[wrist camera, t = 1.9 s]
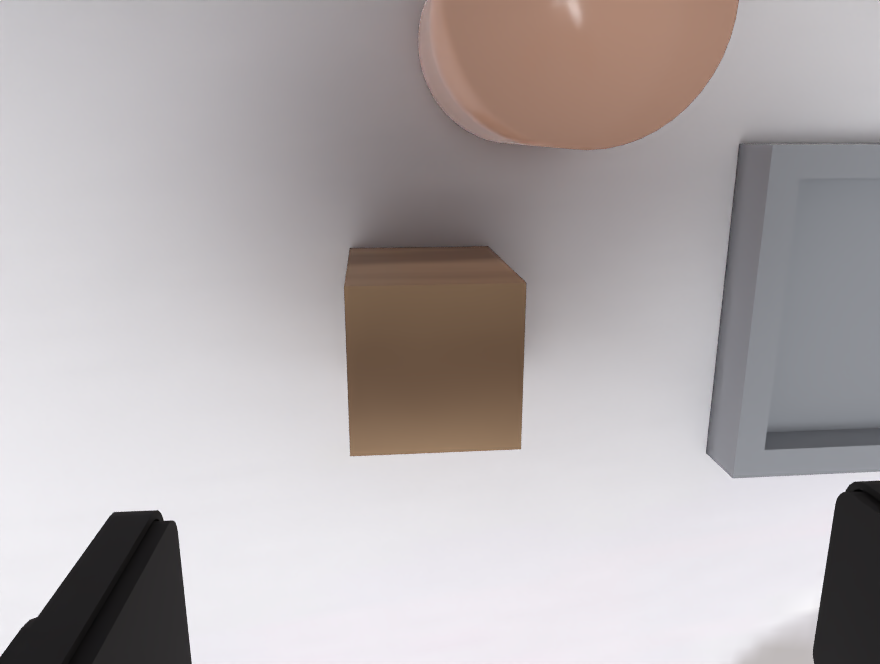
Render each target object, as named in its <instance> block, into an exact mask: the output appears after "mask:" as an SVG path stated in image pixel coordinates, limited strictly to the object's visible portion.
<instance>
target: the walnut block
mask: <svg viewBox="0 0 880 664" xmlns="http://www.w3.org/2000/svg"><path fill="white" fill-rule="evenodd" d="M344 298H345V326H346V353H347V381H348V408H349V436H350V456H367V455H391V454H416V453H440V452H464V451H488V450H512V449H521V429H522V399H523V368H524V338H525V308H526V282H525V281H524V280H523V279H522V278H521V277H520V276H519V275H518V274H517V273H515V272H514V271H513V270H512V269H511V268H510V267H509V266H508V265H507V264H506V263H505V262H504V261H503V260H502V259H501V258H500V257H499V256H498V255H497V254H495V253H494V252H493V251H492V250H491V249H490V248H489V247H488V246H472V247H404V248H350V251H349V258H348V264H347V271H346V277H345V284H344Z"/></svg>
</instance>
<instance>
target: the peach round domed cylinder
mask: <svg viewBox="0 0 880 664" xmlns="http://www.w3.org/2000/svg"><path fill="white" fill-rule="evenodd" d="M738 2H739V0H425V3H424V6H423V10H422V13H421V18H420V23H419V32H418V49H419V58H420V64H421V69H422V72H423V75H424V78H425V81H426V83H427V86H428V88H429V90H430V92H431V94H432V96H433V97H434V99H435V100H436V102H437V104H438V105H439V106H440V107H441V109H442V110H443V111H444V112H445V114H446V115H447V116H448V117H449V118H451V119H452V120H453V121H454V122H455V123H456V124H457V125H459V126H460V127H462V128H463V129H464V130H466V131H468V132H470V133H471V134H473V135H475V136H477V137H480V138H483V139H486V140H488V141H493V142H498V143H505V144H517V145H529V146H541V147H553V148H565V149H580V150H594V149H606V148H611V147H616V146H620V145H624V144H627V143H630V142H633V141H636V140H638V139H641V138H643V137H645V136H647V135H649V134H651V133H653V132H655V131H657V130H658V129H660V128H661V127H663V126H664V125H666V124H667V123H669V122H670V121H672V120H673V119H674V118H675V117H677V116H678V115H679V114H680V113H681V112H682V111H683V110H685V109H686V108H687V107H688V106H689V105H690V104H691V103H692V101H693V100H694V99H695V98H696V97H697V96H698V95H699V94H700V93H701V91H702V90H703V88H704V87H705V86H706V84H707V83H708V81H709V80H710V79H711V77H712V76H713V74H714V72H715V70H716V68H717V67H718V65H719V63H720V61H721V59H722V57H723V55H724V52H725V50H726V48H727V45H728V43H729V40H730V37H731V34H732V30H733V27H734V23H735V19H736V14H737V8H738Z"/></svg>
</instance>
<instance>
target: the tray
mask: <svg viewBox="0 0 880 664" xmlns="http://www.w3.org/2000/svg"><path fill="white" fill-rule="evenodd" d="M706 453H707V454H708V455H709V456H710V457H711V458H712V459H713V460H714V461H715V462H716V463H717V464H718V465H719V466H720V467H721V468H723V469H724V470H725V471H726V472H727V473H728V474H729V475H730V476H731V477H732V478H749V477H770V476H791V475H813V474H834V473H856V472H877V471H880V144H740V146H739V156H738V165H737V174H736V183H735V192H734V202H733V211H732V220H731V229H730V239H729V248H728V257H727V266H726V276H725V285H724V294H723V303H722V313H721V322H720V331H719V340H718V349H717V359H716V368H715V377H714V386H713V396H712V405H711V414H710V423H709V433H708V442H707V451H706Z"/></svg>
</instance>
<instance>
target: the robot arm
mask: <svg viewBox="0 0 880 664" xmlns="http://www.w3.org/2000/svg"><path fill="white" fill-rule="evenodd" d="M813 659H814V664H880V481H862V482H854V483H852V484H850V485H849V487H848V488H847V489H846V492H843V493H842V494H840V495H839V496H838V498H837V501H836V504H835V511H834V517H833V524H832V530H831V537H830V543H829V550H828V556H827V563H826V569H825V576H824V582H823V588H822V595H821V601H820V608H819V614H818V621H817V627H816V634H815V640H814V647H813ZM0 664H192V662H191V653H190V643H189V634H188V624H187V615H186V606H185V596H184V587H183V577H182V568H181V558H180V549H179V539H178V531H177V526H176V523H175V522H174V521H163V517H162V515H161V513H160V512H159V511H158V510H156V511H131V512H114V513H113V514H112V515H111V516H110V517H109V518H108V519H107V521H106V522H105V524H104V525H103V526H102V528H101V529H100V531H99V532H98V533H97V535H96V536H95V538H94V539H93V540H92V542H91V543H90V545H89V546H88V547H87V549H86V550H85V552H84V553H83V554H82V556H81V557H80V559H79V560H78V561H77V563H76V564H75V566H74V567H73V568H72V570H71V571H70V573H69V574H68V575H67V577H66V578H65V579H64V581H63V582H62V584H61V585H60V586H59V588H58V589H57V591H56V592H55V593H54V595H53V596H52V598H51V599H50V600H49V602H48V603H47V605H46V606H45V607H44V609H43V610H42V612H41V613H40V614H39V616H38V617H36V618H34V619H31V620H29V621H28V622H27V623H26V624H25V625H24V626H23V627H22V628H21V630H20V631H19V632H18V634H17V635H16V636H15V638H14V639H13V640H12V642H11V643H10V645H9V646H8V647H7V649H6V650H5V651H4V653H3V654H2V655H1V657H0Z"/></svg>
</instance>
